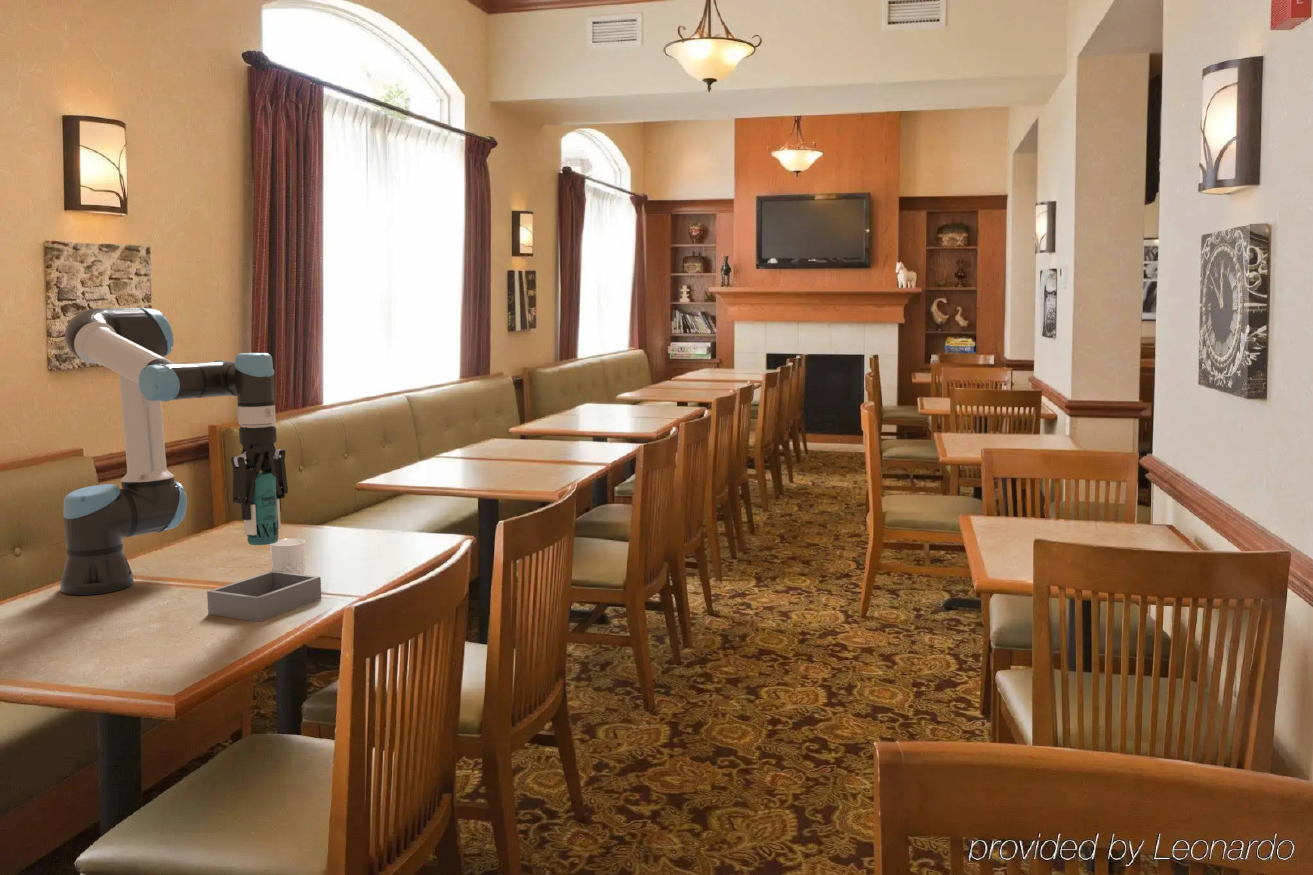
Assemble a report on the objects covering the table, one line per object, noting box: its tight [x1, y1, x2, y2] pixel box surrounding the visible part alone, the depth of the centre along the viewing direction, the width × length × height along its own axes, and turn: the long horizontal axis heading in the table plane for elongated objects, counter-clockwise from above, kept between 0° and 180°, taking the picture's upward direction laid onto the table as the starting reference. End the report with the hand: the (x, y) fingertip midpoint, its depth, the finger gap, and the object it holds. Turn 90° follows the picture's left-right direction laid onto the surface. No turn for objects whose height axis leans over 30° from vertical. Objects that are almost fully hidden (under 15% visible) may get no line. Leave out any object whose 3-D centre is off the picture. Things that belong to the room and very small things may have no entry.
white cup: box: [269, 538, 306, 575], centre depth 251 cm, size 8×8×10 cm
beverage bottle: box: [246, 458, 280, 546], centre depth 229 cm, size 6×7×20 cm
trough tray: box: [206, 570, 322, 622], centre depth 232 cm, size 14×19×5 cm
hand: (262, 530), depth 230 cm, fingers closed on beverage bottle, 6 cm apart
